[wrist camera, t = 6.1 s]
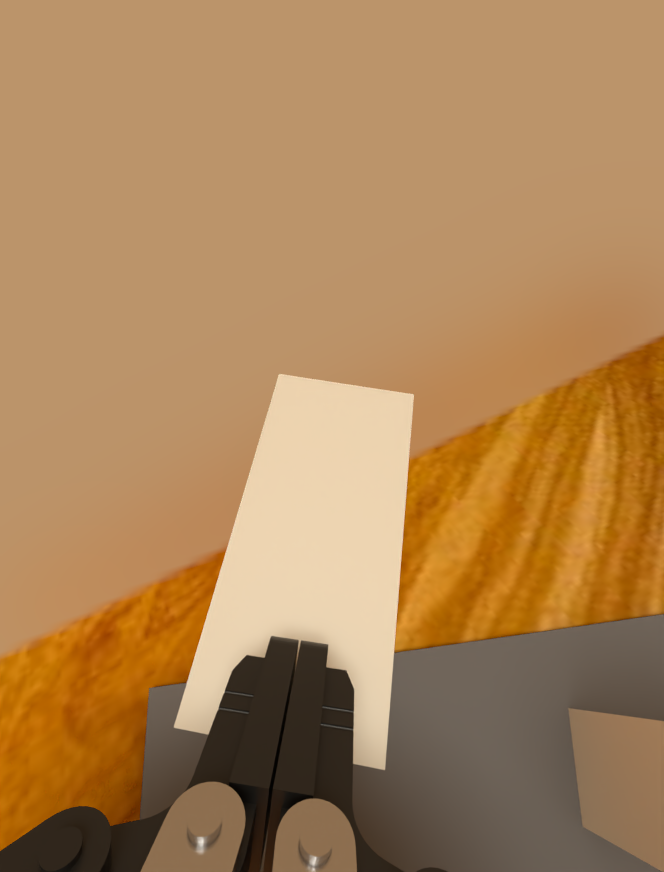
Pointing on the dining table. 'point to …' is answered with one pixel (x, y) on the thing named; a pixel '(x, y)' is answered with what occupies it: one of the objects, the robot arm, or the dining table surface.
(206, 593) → the dining table surface
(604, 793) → the tile
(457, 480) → the dining table surface
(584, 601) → the dining table surface
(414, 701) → the mat
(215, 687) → the tile
